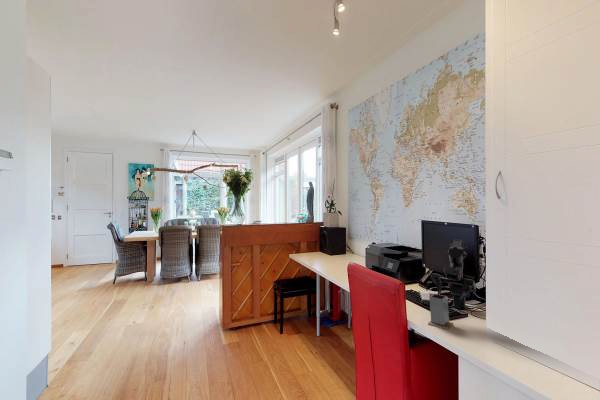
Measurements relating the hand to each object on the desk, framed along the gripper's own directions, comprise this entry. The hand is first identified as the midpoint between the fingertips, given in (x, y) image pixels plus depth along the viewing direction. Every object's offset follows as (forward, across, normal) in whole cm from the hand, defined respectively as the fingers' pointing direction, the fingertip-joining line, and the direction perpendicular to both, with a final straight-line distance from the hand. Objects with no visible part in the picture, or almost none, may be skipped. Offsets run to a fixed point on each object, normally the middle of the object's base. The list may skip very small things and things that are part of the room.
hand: (448, 296), depth 124 cm
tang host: (+12, -3, +7) cm, 14 cm away
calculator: (-8, -18, +27) cm, 33 cm away
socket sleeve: (+11, -3, +6) cm, 13 cm away
